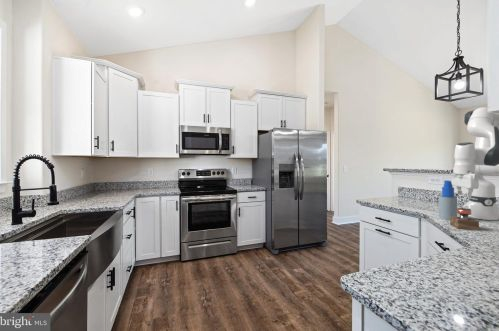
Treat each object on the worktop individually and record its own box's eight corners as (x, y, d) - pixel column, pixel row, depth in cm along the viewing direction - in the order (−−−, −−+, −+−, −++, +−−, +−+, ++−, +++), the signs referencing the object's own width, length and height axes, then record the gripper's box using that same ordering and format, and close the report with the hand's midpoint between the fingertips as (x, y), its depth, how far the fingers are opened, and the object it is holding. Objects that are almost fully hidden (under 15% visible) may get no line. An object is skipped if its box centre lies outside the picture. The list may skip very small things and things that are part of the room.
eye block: (450, 224, 135) (450, 216, 134) (469, 225, 131) (469, 217, 131) (458, 229, 126) (458, 220, 126) (478, 230, 123) (478, 221, 123)
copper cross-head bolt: (454, 225, 133) (454, 207, 132) (467, 226, 131) (467, 207, 130) (460, 228, 127) (460, 209, 127) (473, 229, 125) (473, 209, 125)
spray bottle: (437, 216, 153) (437, 179, 153) (453, 217, 150) (454, 180, 149) (441, 219, 145) (441, 181, 144) (459, 221, 141) (459, 181, 141)
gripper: (483, 171, 117) (482, 198, 117) (461, 170, 136) (461, 193, 136) (467, 171, 119) (467, 197, 119) (448, 170, 138) (448, 192, 139)
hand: (464, 195), depth 128 cm, fingers open, 8 cm apart
